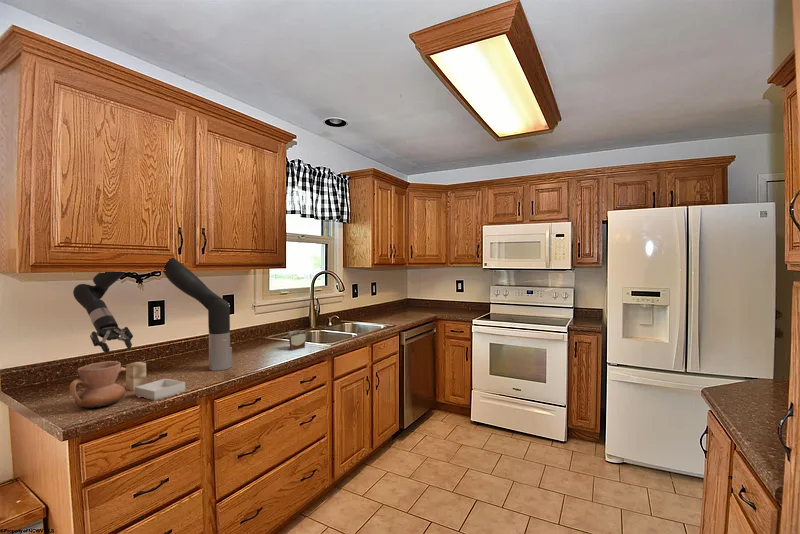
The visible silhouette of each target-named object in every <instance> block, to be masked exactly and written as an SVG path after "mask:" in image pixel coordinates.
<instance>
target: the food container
mask: <svg viewBox="0 0 800 534" xmlns="http://www.w3.org/2000/svg"><path fill="white" fill-rule="evenodd" d="M307 334H308V333H307V330H293V331H289V332H288V333H287V338H288V341H289V350H290V351H293V352H294V351H298V350H302V349H305V348H306V340H307V339H306V337H307Z"/></svg>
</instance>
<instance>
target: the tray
mask: <svg viewBox="0 0 800 534" xmlns="http://www.w3.org/2000/svg"><path fill="white" fill-rule="evenodd" d="M183 392H184V393H185V392H186V382H185V381H181V380H176V379H170V378H162V379H158V380H154V381H152V382H151V381H150V382H146V384H144V385H140V386H136V387H135V391H134V396H135V395H136V396H140V397H144V398H147V399H146V400H148V399H151V400H150V401H153V400H154V401H153V402H156V401H158V399H159V400H162V399H165V398H168V397H169V398H170V397H171V396H175V395H177V394H180V393H183ZM136 396H135V397H136ZM140 397H139V398H140ZM144 398H143V399H144ZM155 400H156V401H155Z"/></svg>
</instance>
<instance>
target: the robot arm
mask: <svg viewBox="0 0 800 534" xmlns="http://www.w3.org/2000/svg"><path fill="white" fill-rule="evenodd" d="M164 268H165V269H164V270H166V271H162V272H163V275H165V277H166V278H167V280H168V281H169V282H170V283H171V284H173V285H174V286H175V287H176V288H177V289H178V290H180V291H181V292H183V293H184V294H186V295H188V296H190V298H193V299H195V301H198V303H200V304H201V305H202V306H203V307H205V309H207V316H208V317H207V318H208V320H207V321H208V326H207V327H208V370H210V371H212V372H213V371H214V372H215V371H216V372H217V371H224V370H229V369H230V368H231V367H233V348H232V346H231V317H230V316H231V314H230V313H231V309H230V307H231V306H230V303H229V302H228V301H227V300H226V299H224V298H223V297H221V296H219V295H218V294H216V293H215V292H213V290H211V289H210V288H209V287H208V286H207V285H206V284H205V283H204V282H203V281H202V280H201V279H200V278H199V277H198V276H197V275H196V274H195V273H193V272H192V271H191V270H190V269H188V268H187V266H185V265H183V263H181V262H180V261H179V260H177V259H176V258H175V257H174V258H171V259H169V261H168V262H167V263H166V265H165V267H164ZM125 273H126V272H105V273H100V272H99V273H97V274H96V275H95V276H94V277H93V279H92V282H93V284H94V285H92V284H87V283H80V284H77V285H76V286H74V288H73V292H72V293H73V296H74V299H75V300H76V302H78V303H79V304H80V306H82V307H83V309H85V310H86V313H87V315H88V316H89V318H90V322H91V324H92V325H93V327H94V329H95V331H94V330H93V331H92V332H91V333H90V335H89V338H90V340H91V342H92V345H93V347H100V348H101V350H102V352H103V353H105V354H108V353H109V352H110V347H109V345H108V344H107V342H106V341H115V340H118V341H121V342H124V344H125V346H126V349H127V350H130V349H131V348H132V346H133V343H132V341H131V340H132V339H133V337H134V335H133V333H132V331H130V328H129V327H128V326H125V327H124V328H120V327H119V325H118V324H119V323H117V321H116V319H115V317H114V315H113V314H112V312H111V311H110V309H109V307H108V306H107V304H106V303H105V301H104V300H103V299H102V298H103V297H104V295H105V294H106V293H107V291H108V290H109V288H110V287H111V286H112V285H114V284H115V283H116V282H118V280H120V279H121V277H123V276H124V274H125ZM99 338H102V339H101V340H100V339H99Z"/></svg>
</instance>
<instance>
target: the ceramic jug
mask: <svg viewBox="0 0 800 534" xmlns="http://www.w3.org/2000/svg"><path fill="white" fill-rule="evenodd" d="M121 372H126V367H123V366H122V364H121V362H120V361H117V360H112V361H111V360H110V361H107V360H106V361H101V362H95V363H94V362H93V363H90V364H87V365H84V366H80V367H79V368H77V374H78V375H79V378H77V379H74V380H73V381H72V382H70V385H69V393H70V395H71V397H72V398H73V399H74V403H75V405H77V406H78V407H81V408H89V409H94V407H97V408H102V407H101V406H103V407H106V405H107V406H110V405H112V404H115V403H118V402H119V401H120V400H122V398H124V397H125V395H126V387H124V386H122V385H120V384H118V383H116V380H117V378H118V376H119V374H120V373H121ZM78 384H83V385H84V386H85V388H84V389H83V390H82V391H80V393H78V392H77V389H76V388H77V385H78Z"/></svg>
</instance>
